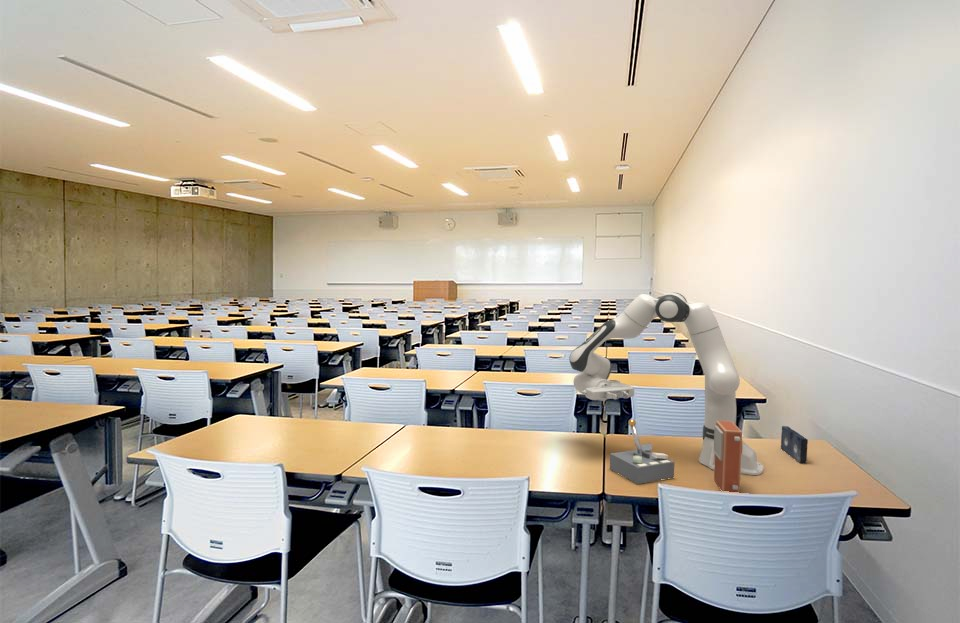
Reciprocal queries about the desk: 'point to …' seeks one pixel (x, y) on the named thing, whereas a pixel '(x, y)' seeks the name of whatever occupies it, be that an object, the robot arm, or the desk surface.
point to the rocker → (660, 455)
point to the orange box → (727, 455)
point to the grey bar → (646, 447)
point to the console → (641, 466)
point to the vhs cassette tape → (794, 444)
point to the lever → (635, 436)
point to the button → (637, 459)
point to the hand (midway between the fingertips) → (622, 396)
